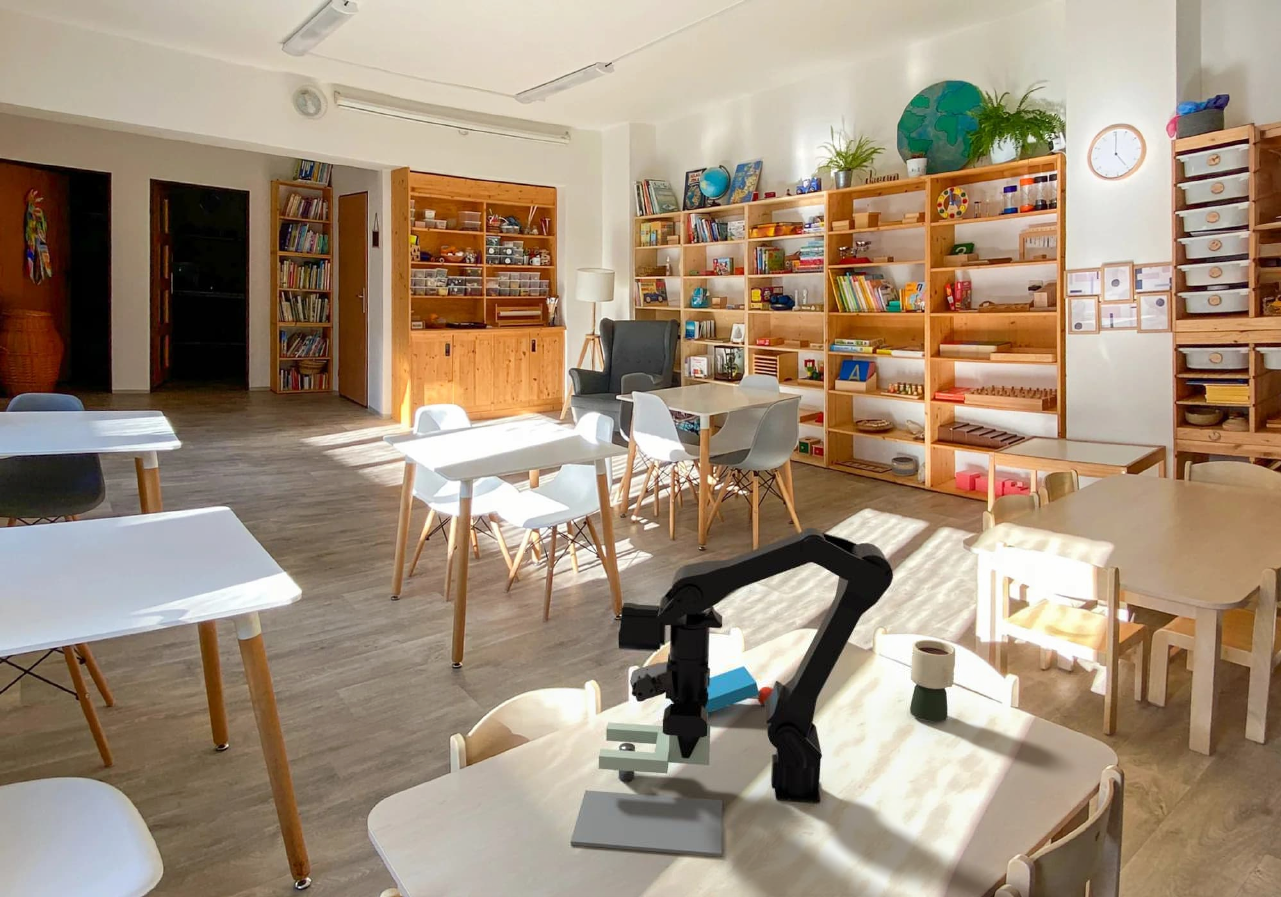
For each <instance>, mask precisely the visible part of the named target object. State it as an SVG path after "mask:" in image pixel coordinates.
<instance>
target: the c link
mask: <svg viewBox="0 0 1281 897" xmlns="http://www.w3.org/2000/svg"><path fill="white" fill-rule="evenodd" d="M605 729H606V733H605V734H606V735H605V736H606V739H605V740H606V741H607V742H618V743H619V742H620V743H632V744H633V743H635V744H647V745H648V744H650V745H651V744H652V745H655V749H654V752H649V751H636V750H635V751H623V750H619V749H608V748H607V749H606V748H600V749H599V750H600V752H599V754H598V769H599V770H612V771H619V770H623V771H635V772H639V773H640V772H641V773H655V774H668V769H669V763H670V764H671V763H672V764H683V765H684V764H685V765H699V766H710V752H711V751H710V749H711V723H708V726H707V736H705V737H700V738H699V740H698V742H697V744H696V746H695V748H694V750H693V752H692V754H691V756H690V758H688V759H687V758H682V756H681V751H680V747H679V742H678V738H677V736H674V735H665V734H664V733H663V725H654V724H638V723H623V722H608V723H607V725H606V728H605Z"/></svg>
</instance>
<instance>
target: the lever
mask: <svg viewBox="0 0 1281 897" xmlns="http://www.w3.org/2000/svg"><path fill="white" fill-rule="evenodd" d="M758 687H759V686H758V685H757V682H756V680H755V679H754V677H753V676H752V675H751V674H750V672H749V670H748V669H747V668H746V667H745V666H744V665H743V666H740V667H738V668H734V669H731V670H729V671H726V672H724V673H720V674H718V675H715V676H712V677H711V676H710V684H709V687H708V690H707V692H708V693H709V695H708V702H707V705H706V707H705V709H706V710H707V711H708V714H709V713H712V712H715V711H718V710H721V709H723V708H726V707H728V706H731V705H734V704H737V703H740V702H743V701H745V700H748V699H749V700H751V699H752V700H757V701H758V703H760V705H762V704H763V705H762V706H764V705H765V700H766V699H767V698H768V697H769V696H770V695H771V693H772V690H773V688H772V687H770V686H763V687H761V688H760V689H759V688H758Z"/></svg>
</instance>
